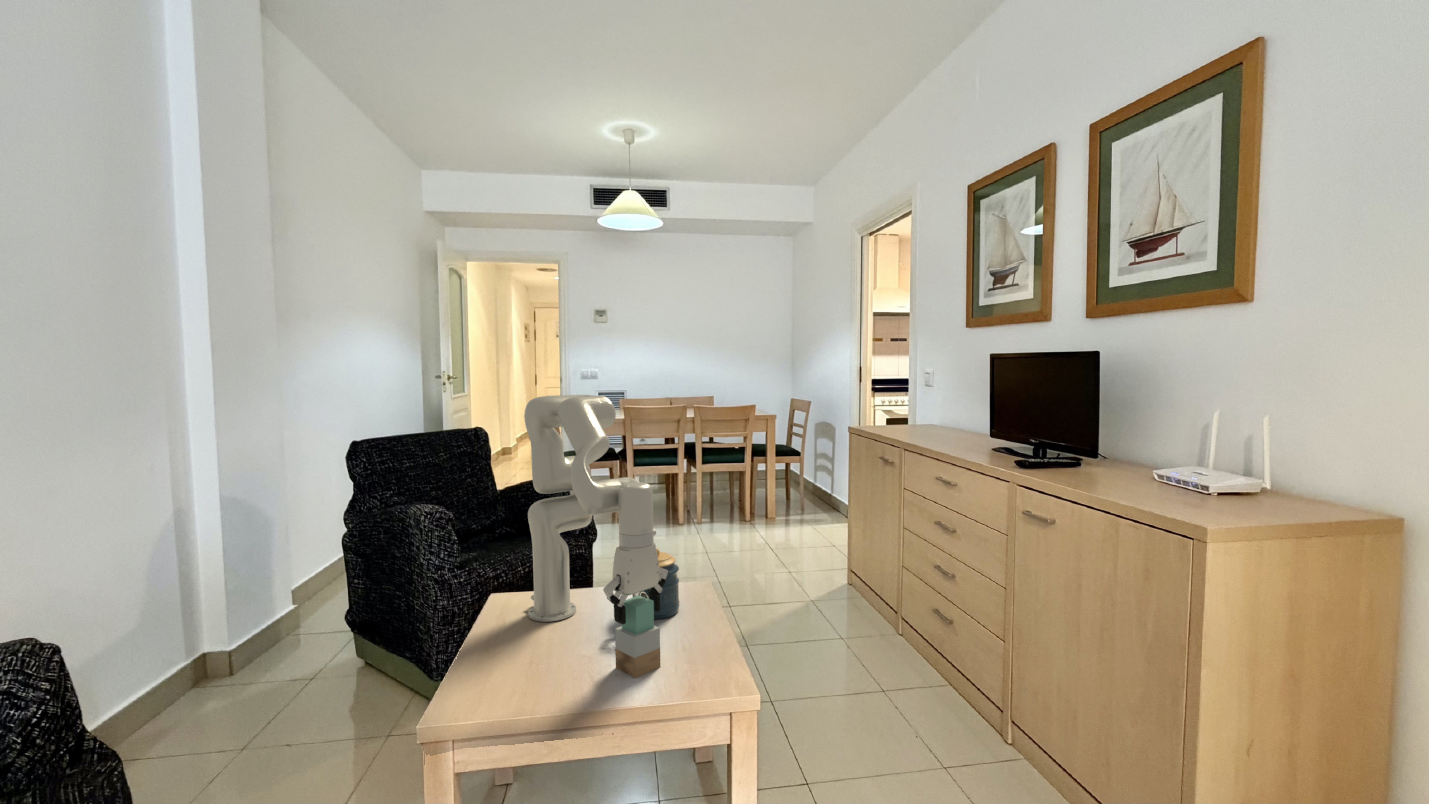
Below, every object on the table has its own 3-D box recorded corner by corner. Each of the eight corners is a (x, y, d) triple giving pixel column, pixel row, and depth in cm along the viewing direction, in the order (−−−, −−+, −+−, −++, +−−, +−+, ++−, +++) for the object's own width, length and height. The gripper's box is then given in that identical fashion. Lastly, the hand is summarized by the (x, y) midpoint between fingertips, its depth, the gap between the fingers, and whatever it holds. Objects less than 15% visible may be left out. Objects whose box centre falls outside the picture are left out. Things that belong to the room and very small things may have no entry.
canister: (666, 599, 178) (665, 539, 177) (687, 614, 166) (686, 549, 166) (624, 608, 171) (623, 545, 170) (643, 624, 160) (642, 557, 159)
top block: (615, 648, 136) (615, 628, 136) (640, 638, 141) (640, 619, 141) (634, 658, 131) (634, 637, 131) (660, 647, 136) (659, 627, 136)
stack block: (622, 628, 136) (621, 601, 136) (639, 621, 140) (638, 595, 139) (636, 634, 132) (636, 607, 132) (654, 627, 136) (653, 600, 136)
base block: (615, 668, 136) (615, 648, 136) (640, 657, 141) (639, 638, 141) (635, 679, 131) (635, 658, 131) (660, 667, 136) (660, 647, 136)
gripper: (655, 529, 144) (656, 601, 145) (593, 544, 131) (595, 623, 132) (676, 534, 139) (677, 609, 139) (615, 551, 126) (616, 632, 127)
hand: (637, 615), depth 136 cm, fingers open, 9 cm apart
